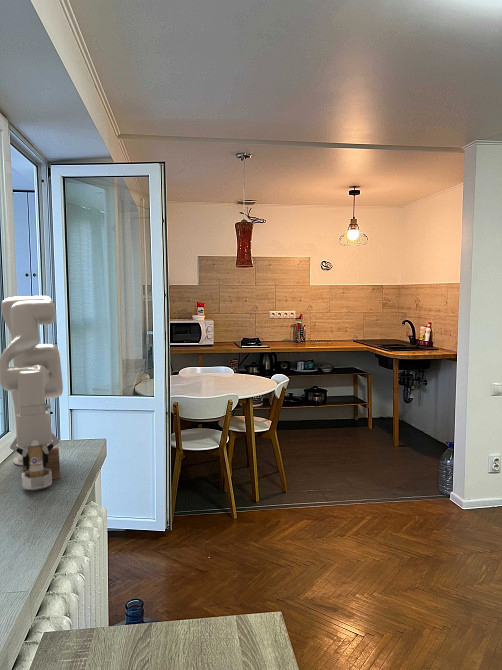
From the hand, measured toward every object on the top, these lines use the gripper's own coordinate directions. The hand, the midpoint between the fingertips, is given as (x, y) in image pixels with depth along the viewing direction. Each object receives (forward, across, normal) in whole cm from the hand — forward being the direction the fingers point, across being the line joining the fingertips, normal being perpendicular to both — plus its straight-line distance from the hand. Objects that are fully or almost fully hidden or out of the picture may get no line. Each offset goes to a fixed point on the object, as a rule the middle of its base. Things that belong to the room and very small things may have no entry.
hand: (36, 466), depth 165 cm
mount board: (+7, -1, -9) cm, 12 cm away
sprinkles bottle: (+5, 0, 0) cm, 5 cm away
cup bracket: (+6, 0, -1) cm, 6 cm away
